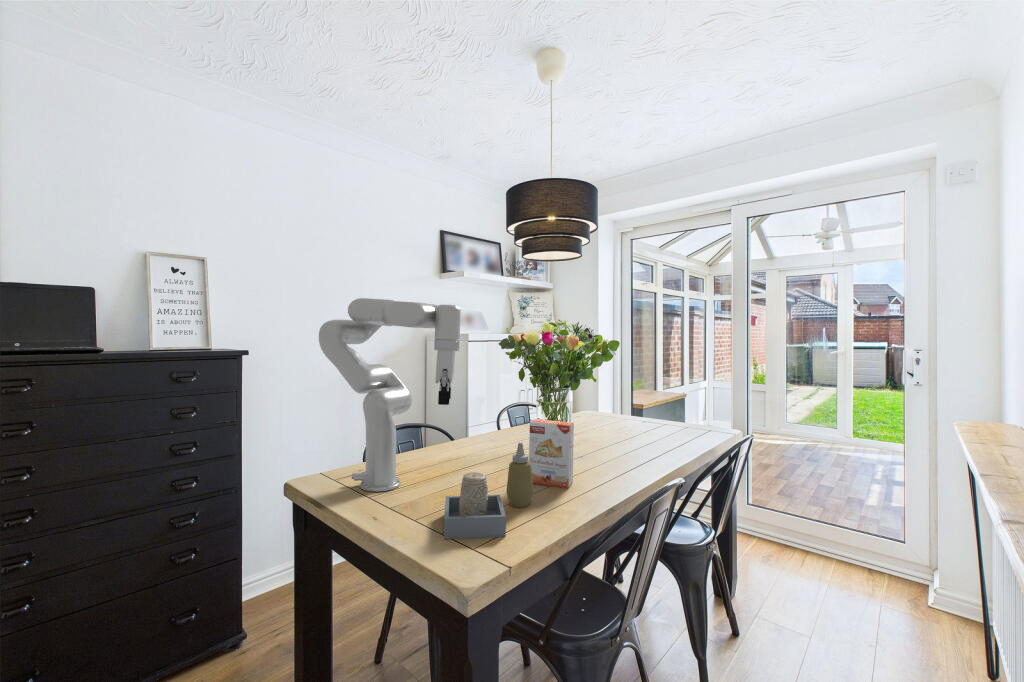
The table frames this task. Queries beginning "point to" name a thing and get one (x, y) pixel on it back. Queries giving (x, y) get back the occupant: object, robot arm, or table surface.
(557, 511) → the table surface
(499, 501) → the bin
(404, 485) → the table surface
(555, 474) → the cracker box
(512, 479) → the squeeze bottle
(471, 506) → the carving
